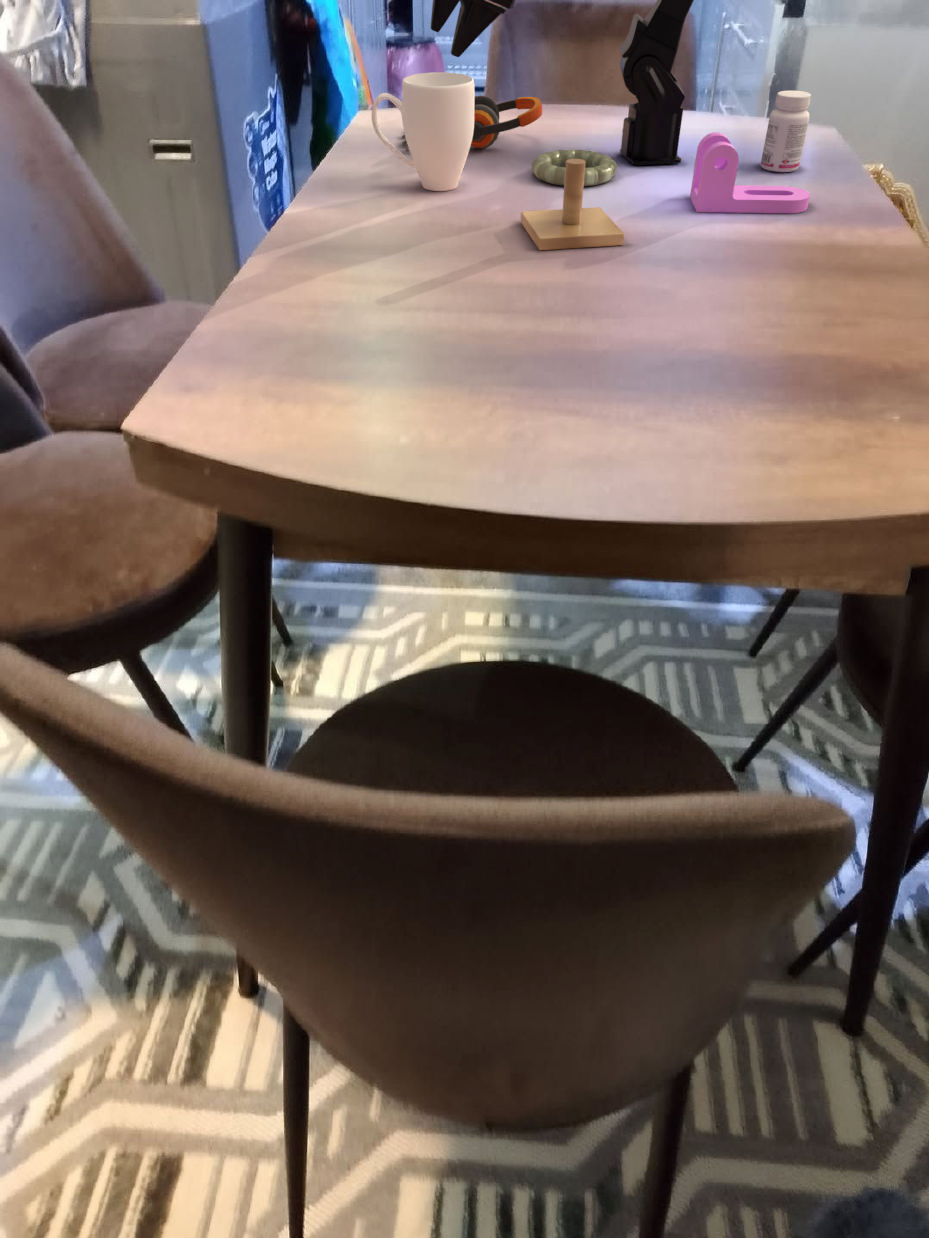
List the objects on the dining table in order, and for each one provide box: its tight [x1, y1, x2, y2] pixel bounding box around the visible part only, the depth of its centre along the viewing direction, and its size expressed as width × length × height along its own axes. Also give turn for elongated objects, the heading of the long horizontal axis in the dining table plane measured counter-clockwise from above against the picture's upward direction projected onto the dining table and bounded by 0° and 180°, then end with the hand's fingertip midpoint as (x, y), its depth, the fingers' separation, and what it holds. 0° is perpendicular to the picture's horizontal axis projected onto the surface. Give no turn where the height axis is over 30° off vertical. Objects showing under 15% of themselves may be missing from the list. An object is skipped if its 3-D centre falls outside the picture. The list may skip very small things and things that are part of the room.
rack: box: [520, 159, 625, 251], centre depth 95 cm, size 9×9×7 cm
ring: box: [531, 149, 618, 187], centre depth 113 cm, size 10×10×2 cm
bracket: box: [689, 131, 811, 214], centre depth 103 cm, size 13×6×7 cm, turn 87°
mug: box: [371, 71, 476, 192], centre depth 107 cm, size 12×8×11 cm
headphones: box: [401, 94, 543, 152], centre depth 125 cm, size 17×5×20 cm
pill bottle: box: [760, 90, 812, 173], centre depth 114 cm, size 5×5×8 cm
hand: (444, 43), depth 113 cm, fingers open, 9 cm apart
